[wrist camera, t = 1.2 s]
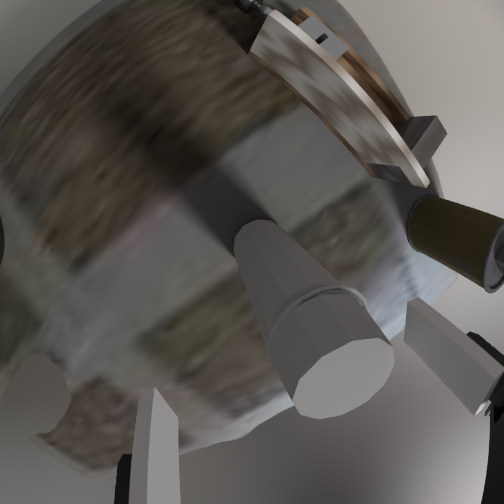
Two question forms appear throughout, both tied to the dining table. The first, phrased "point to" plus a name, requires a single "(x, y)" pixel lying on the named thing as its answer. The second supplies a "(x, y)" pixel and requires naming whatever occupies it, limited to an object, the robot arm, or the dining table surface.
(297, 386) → the water bottle
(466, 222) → the canister
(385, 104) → the brown wooden box
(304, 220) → the dining table surface
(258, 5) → the silver block with knob
